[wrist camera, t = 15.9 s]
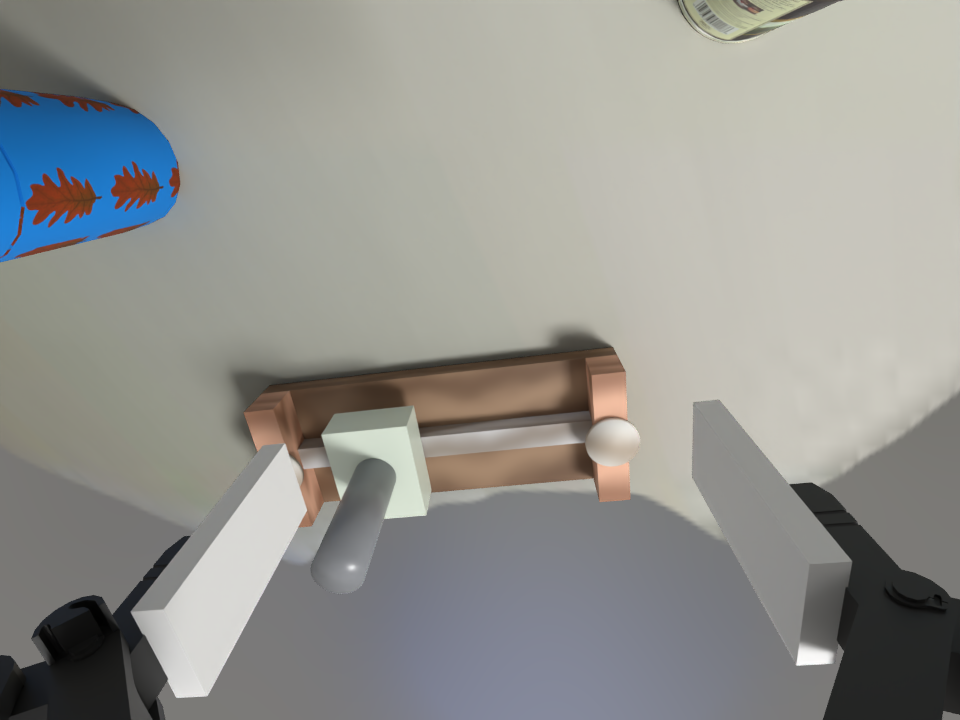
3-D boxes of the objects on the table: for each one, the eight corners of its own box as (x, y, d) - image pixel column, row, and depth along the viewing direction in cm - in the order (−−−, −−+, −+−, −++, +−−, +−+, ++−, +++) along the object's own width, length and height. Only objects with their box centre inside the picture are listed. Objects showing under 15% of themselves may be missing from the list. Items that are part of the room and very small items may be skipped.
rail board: (260, 386, 56) (230, 416, 49) (623, 345, 52) (638, 373, 46) (296, 493, 61) (273, 533, 55) (627, 464, 57) (642, 502, 51)
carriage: (334, 413, 51) (265, 523, 37) (413, 405, 51) (375, 514, 36) (357, 496, 55) (303, 626, 40) (431, 489, 54) (404, 619, 40)
